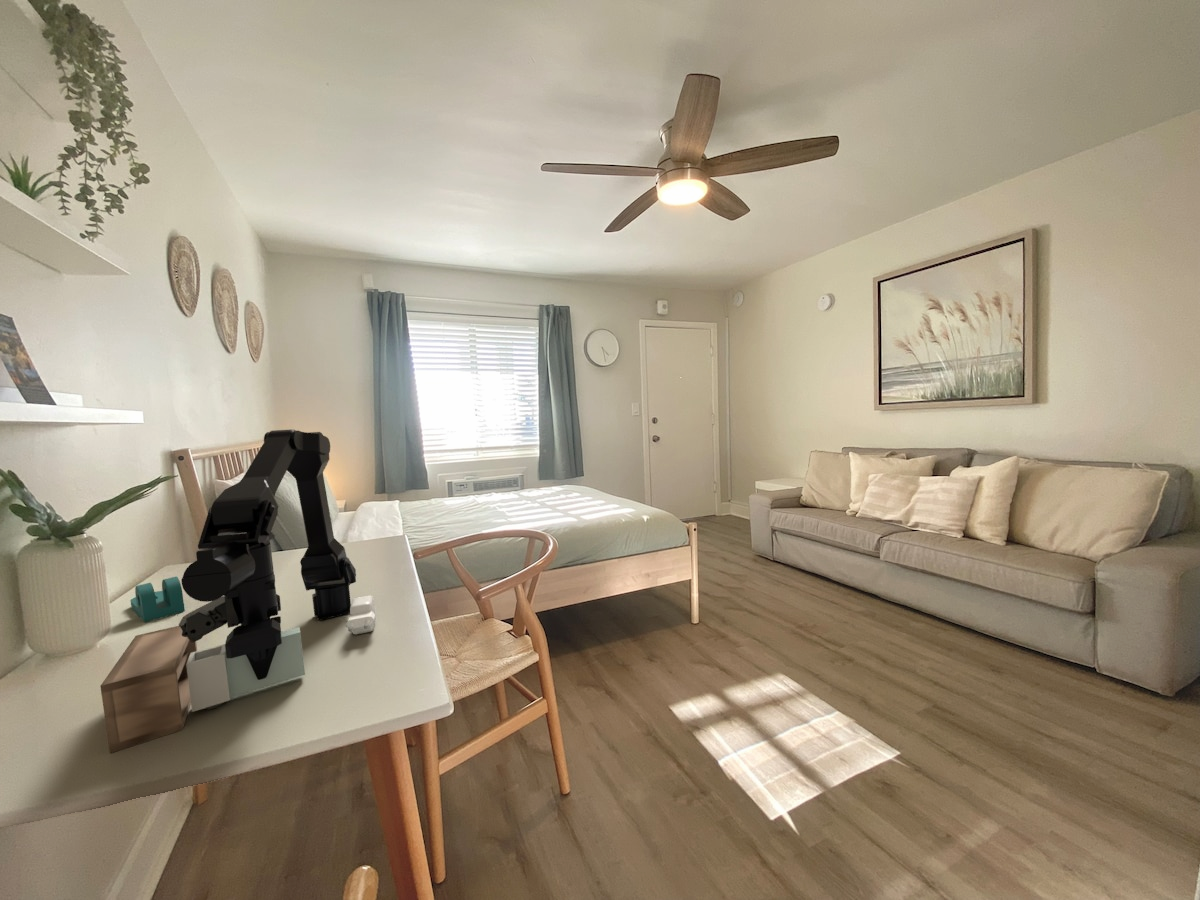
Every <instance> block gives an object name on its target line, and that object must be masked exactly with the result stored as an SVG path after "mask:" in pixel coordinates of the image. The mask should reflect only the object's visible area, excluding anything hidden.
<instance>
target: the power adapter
mask: <svg viewBox="0 0 1200 900" xmlns="http://www.w3.org/2000/svg"><path fill="white" fill-rule="evenodd" d="M375 608H376V607H375V599H374V596H373V595H365V596H358V597H355V598H353V599H352V601H351V607H350V613H349V616H348V618H347V619H346V621H345V622H346V623H345V627H346V628H347V631H348V632H349V633H351V632H352V635H360V634H367V633H369V632H372V631H374V629H375V624H376V609H375Z"/></svg>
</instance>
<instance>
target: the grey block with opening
mask: <svg viewBox="0 0 1200 900" xmlns="http://www.w3.org/2000/svg"><path fill="white" fill-rule="evenodd" d="M281 636H282V644H280V645H278V646H277V648H276V651H275V654H274V657H273V660H272V663H271V666H270V669H269V672H268V675H267V677H266V678H264V679H261V680H258V679H257V677H256V675H255V673H254V671H253V669H252V666H251V664H250V662H249V660H248V658H247V656H246V655H242V656H239V657H235V658H227V657H226V649H225V643H224V644H221V645H217V646H213V647H208V648H205V649H201V650H197V651H196V652H192V653H190V656H189V658H188V661H187V664H186V667H187V675H188V683H189V690H190V698H191V705H190V707H191V712H192V713H193V712H197V711H200V710H204V709H206V708H207V707H210V706H213V705H216V704H220V703H223V704H224V703H225V702H229V701H231V698H234V697H237V696H240V695H243V694H247V693H250V692H253V691H257V690H259V689H262V688H265V687H269V686H273V685H276V684H279V683H282V682H286V681H288V680H291V679H295V678H298V677H302V676H305V675H306V671H305V661H304V653H303V644H302V635H301V626H298V627H294V628H290V629H287V630H286V629H285V630H283V631H282V630H281Z"/></svg>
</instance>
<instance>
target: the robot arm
mask: <svg viewBox="0 0 1200 900" xmlns="http://www.w3.org/2000/svg"><path fill="white" fill-rule="evenodd" d="M330 452H331V442H330V439H329V437H327V436H326V435H323V433H322V432H321V431H313V432H307V431H306V432H305V431H300V430H296V429H290V428H289V429H278V430H277V429H275V430H273V429H272V430H270V431H267V432H266V433H264V436H263V443H262V445H261V447H260V448H259V451H258V452H257V453H256V455H255V457H254V459H253V460H252V462H251V464H250V465H249V467H248V468H247V470H246V472H245V474H244V475H243V477H242V478H241V480H240V481H238V482H237V483H235V484H233V485H231V486H228V488H225V489H224V490H223V491H222V492H221V493H220V495H218V496H217V497H216V499H215V500H213V502H212V504H211V506H210V507H209V509H208V512H207V515H206V519H205V521H204V525H203V528H202V531H201V535H200V537H199V539H198V540H199V541H198V543H197V549H198V550H196V553H195V554H196V560H195V561H194V562H192V563H191V564H189V565H188V566H187V567H186V569H185V570H184V572H183V576H182V577H181V580H180V582H181V588H182V590H184V592H185V593H186V594H185V595H187V596H189V597H190V598H191V599H193V600H195V601H199V602H206V604H204V605H201V606H199V607H198V608H195V609H194V610H192V611H191V612H188V613H186V614H184V616H183V617H181V619H180V621H179V623H178V626H180V628H181V629H182V636H183V637H187V638H188V639H189V640H190V642H191V643H193V642H196V643H197V641H200V640H201V639H203V637H204V636H206V635H207V634H210V633H212V632H213V631H215V630H217V629H219V628H221V627H223V626H224V625H226V624H227V625H226V626H227V629H229V628H233V627H234V628H233V629H232V630H231V631H230V633H229V634H228V635H227V636H226V640H225V643H224V644H225V649H226V657H227V658H235V657H239V656H242V655H246V656H247V658H248V660H249V662H250V664H251V666H252V669H253V671H254V673H255V675H256V677H257V679H258V680H261V679H264V678H266V677H267V675H268V672H269V669H270V666H271V663H272V660H273V657H274V654H275V651H276V648H277V646H278V645H280V644H282V636H281V632H282V627H281V623H282V617H281V616H279V612H280V611H282V605H281V596H280V594H277V589H276V577H275V571H274V562H273V554H272V546H271V545H272V544H271V541H272V540H274V539H275V538H276V537H275V536H276V535H275V533H274V532H273V531H272V530H273V527H274V524H275V522H276V519H277V516H279V515H278V512H279V511H278V510H279V505H278V502H277V499H276V498H275V496H276V493H277V490H278V489H279V487H280V485H281V483H282V481H283V478H284V477H285V475H286V472H288V474H290V475H291V476H293V478H294V479H295V481H296V487H297V492H298V498H299V503H300V509H301V514H302V520H303V524H304V530H305V536H306V542H307V548H306V550H305V552H304V554H303V557H301V559H300V562H299V563H300V566H301V567H300V574H301V578H302V581H303V585H304V587H305V591H306V592H308V591H310V590H314V593H312V594H311V597H312V605H313V614H314V616H315V617H317V621H323V620H327V619H332V618H334V617H339V616H342V615H346V614H350V607H351V604H352V601H351V592H350V585H352V584H354V583H356V582H357V580H356V579H357V578H356V577H357V573H356V572H357V571H356V570H357V569H356V568H355V566H354V564H353V563H352V562H351V560H350V558H349V557H348V556H347V553H346V548H345V546H343V545H342V543H340V542H339V540H337V539H336V538H335V536H334V531H333V530H334V529H333V524H332V518H331V513H330V508H329V501H328V494H327V489H326V483H325V478H324V471H325V469H326V467H327V465H328V463H329V461H330ZM207 602H208V603H207Z"/></svg>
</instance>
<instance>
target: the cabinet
mask: <svg viewBox="0 0 1200 900" xmlns="http://www.w3.org/2000/svg"><path fill="white" fill-rule="evenodd" d="M196 651H198V645H197V641H196V642H193V643H191V642H190V640H189V639H188V638H187V637H183V636H182V629H181V628H180V626H179V625H177V626H176V625H175V626H172V627H167V628H163V629H160V630H155V631H150V632H145V633H142V634H137V635H135V636H134V638H133V639H132V640H131V642H130V643H129V645H128V646H127V647H126V649H125V651H123V653H122V655H121V656H120V658H118V660H117V662H116V663H115V664H114V665H113V667H112V669H111V670H110V672H109V673H108V674H107V676H106V677H105V679H103V681H102V683H101V684H100V693H101V700H102V706H103V707H102V708H103V713H104V721H105V727H106V728H105V729H106V734H107V735H106V736H107V741H108V748H109V753H110V754H112V753H115V752H118V751H122V750H124V749H128V748H131V747H134V746H137V745H140V744H143V743H146V742H149V741H153V740H155V739H158V738H162V737H164V736H167V735H171V734H173V733H177V732H180V731H183V729H184V727H185V723H186V720H187V717H188V714H189V711H190V707H191V698H190V690H189V683H188V675H187V667H186V664H187V661H188V658H189V656H190V653H192V652H196ZM223 704H224V702H223V703H220V704H216V705H213V706H210V707H207V708H205V710H206V711H207V710H208V711H210V710H213V709H217V708H219V707H221V706H222V705H223Z"/></svg>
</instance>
